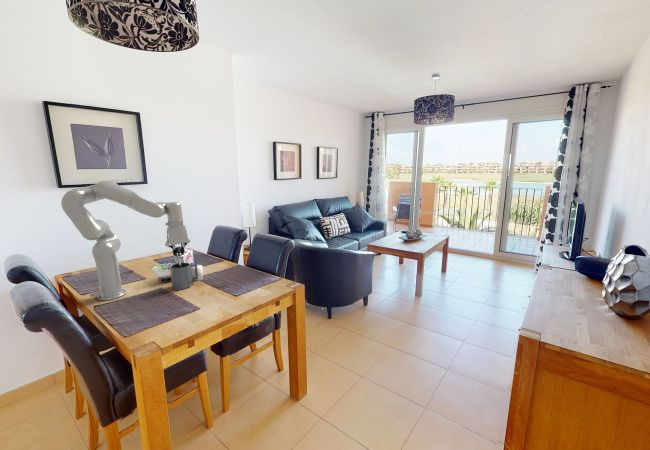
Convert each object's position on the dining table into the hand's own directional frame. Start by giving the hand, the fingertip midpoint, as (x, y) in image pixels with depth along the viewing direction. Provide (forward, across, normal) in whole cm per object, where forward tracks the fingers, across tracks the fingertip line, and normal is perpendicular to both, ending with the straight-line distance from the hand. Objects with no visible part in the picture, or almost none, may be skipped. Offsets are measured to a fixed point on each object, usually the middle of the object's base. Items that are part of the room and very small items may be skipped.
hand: (179, 254), depth 165 cm
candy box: (+20, +8, +18) cm, 28 cm away
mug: (+20, +11, +7) cm, 24 cm away
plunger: (+16, 0, 0) cm, 16 cm away
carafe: (+20, +2, 0) cm, 20 cm away
